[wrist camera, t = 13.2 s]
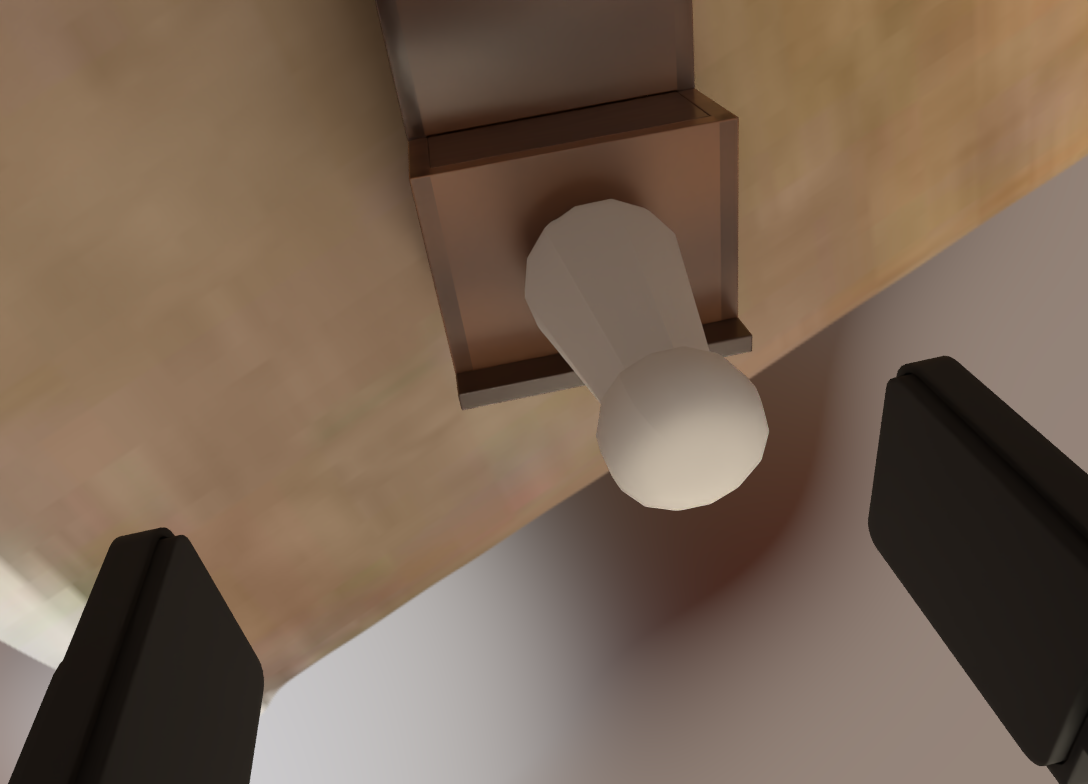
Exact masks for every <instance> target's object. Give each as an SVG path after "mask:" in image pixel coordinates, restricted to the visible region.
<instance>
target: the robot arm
mask: <svg viewBox="0 0 1088 784" xmlns="http://www.w3.org/2000/svg"><path fill="white" fill-rule="evenodd" d="M868 527H869V532H870V535H871V538H872V541H873V543H874V545H875V546H876V548H877V549H878V551H879V552H880V553H881V555H882V556H883V558H884V559H885V560H886V562H887V563H888V565H889V566H890V567H891V569H892V570H893V572H894V573H895V574H896V576H897V577H898V579H899V580H900V581H901V583H902V584H903V585H904V587H905V588H906V590H907V591H908V593H909V594H910V595H911V597H912V598H913V599H914V601H915V602H916V604H917V605H918V606H919V608H920V609H921V611H922V612H923V613H924V615H925V616H926V617H927V619H928V620H929V622H930V623H931V624H932V626H933V627H934V629H935V630H936V631H937V633H938V634H939V636H940V637H941V638H942V640H943V641H944V643H945V644H946V645H947V647H948V648H949V650H950V651H951V652H952V654H953V655H954V657H955V658H956V659H957V661H958V662H959V663H960V665H961V666H962V668H963V669H964V670H965V672H966V673H967V675H968V676H969V677H970V679H971V680H972V682H973V683H974V684H975V686H976V687H977V689H978V690H979V691H980V693H981V694H982V696H983V697H984V698H985V700H986V701H987V702H988V704H989V705H990V707H991V708H992V709H993V711H994V712H995V714H996V715H997V716H998V718H999V719H1000V721H1001V722H1002V723H1003V725H1004V726H1005V728H1006V729H1007V730H1008V732H1009V733H1010V734H1011V736H1012V737H1013V738H1014V740H1015V741H1016V743H1017V744H1018V746H1019V747H1020V748H1021V750H1022V751H1023V752H1024V754H1025V755H1026V756H1027V757H1028V758H1029V759H1030V760H1031V761H1032V762H1033V763H1035V764H1036V765H1039V766H1047V767H1048V769H1049V770H1050V772H1051V773H1052V774H1053V776H1054V777H1055V778H1056V780H1057V781H1058V782H1059V784H1088V474H1087V473H1085V472H1084V471H1083V470H1082V469H1081V468H1080V467H1079V466H1077V465H1076V464H1075V463H1074V462H1073V461H1072V460H1071V459H1069V458H1068V457H1067V456H1066V455H1065V454H1064V453H1062V452H1061V451H1060V450H1059V449H1058V448H1057V447H1056V446H1054V445H1053V444H1052V443H1051V442H1050V441H1049V440H1047V439H1046V438H1045V437H1044V436H1043V435H1042V434H1041V433H1039V432H1038V431H1037V430H1036V429H1035V428H1034V427H1032V426H1031V425H1030V424H1029V423H1028V422H1027V421H1025V420H1024V419H1023V418H1022V417H1021V416H1020V415H1018V414H1017V413H1016V412H1015V411H1014V410H1013V409H1012V408H1010V407H1009V406H1008V405H1007V404H1006V403H1005V402H1004V401H1002V400H1001V399H1000V398H999V397H998V396H997V395H996V394H994V393H993V392H992V391H991V390H990V389H989V388H987V387H986V386H985V385H984V384H983V383H982V382H981V381H979V380H978V379H977V378H976V377H975V376H973V375H972V374H971V373H970V372H969V371H968V370H966V369H965V368H964V367H963V366H962V365H961V364H960V363H959V362H957V361H956V360H955V359H953V358H951V357H949V356H941V357H937V358H932V359H927V360H923V361H918V362H913V363H909V364H905V365H903V366H901V368H900V369H899V370H898V373H897V377H896V378H893V379H890V380H889V382H888V383H887V387H886V393H885V400H884V408H883V415H882V422H881V430H880V437H879V445H878V451H877V459H876V466H875V473H874V481H873V489H872V496H871V503H870V511H869V517H868ZM263 689H264V677H263V670H262V667H261V664H260V661H259V659H258V657H257V656H256V654H255V652H254V651H253V649H252V647H251V645H250V644H249V642H248V640H247V638H246V637H245V635H244V633H243V632H242V630H241V628H240V626H239V625H238V623H237V621H236V620H235V618H234V616H233V614H232V613H231V611H230V609H229V607H228V606H227V604H226V602H225V601H224V599H223V597H222V595H221V594H220V592H219V590H218V589H217V587H216V585H215V583H214V582H213V580H212V578H211V576H210V575H209V573H208V571H207V570H206V568H205V566H204V564H203V563H202V561H201V559H200V557H199V556H198V554H197V552H196V551H195V549H194V547H193V545H192V544H191V542H190V541H189V539H188V538H187V537H186V536H184V535H178V536H174V534H173V533H172V532H171V531H170V530H169V529H167V528H157V529H152V530H148V531H143V532H139V533H134V534H129V535H125V536H120V537H118V538H116V539H115V540H114V541H113V542H112V544H111V545H110V547H109V550H108V552H107V555H106V557H105V560H104V562H103V564H102V567H101V569H100V572H99V574H98V577H97V579H96V582H95V584H94V586H93V589H92V591H91V594H90V596H89V599H88V601H87V603H86V606H85V608H84V611H83V613H82V616H81V618H80V621H79V623H78V625H77V628H76V630H75V633H74V635H73V638H72V640H71V642H70V645H69V647H68V650H67V652H66V655H65V657H64V660H63V661H62V662H61V663H60V664H59V666H58V668H57V670H56V671H55V673H54V675H53V677H52V680H51V682H50V684H49V687H48V689H47V691H46V694H45V696H44V699H43V701H42V703H41V706H40V708H39V711H38V713H37V715H36V718H35V720H34V723H33V725H32V728H31V730H30V732H29V735H28V737H27V739H26V742H25V744H24V747H23V749H22V752H21V754H20V757H19V759H18V761H17V764H16V766H15V769H14V771H13V773H12V776H11V778H10V780H9V783H8V784H249V782H250V775H251V769H252V763H253V756H254V748H255V743H256V736H257V730H258V723H259V716H260V710H261V703H262V697H263Z"/></svg>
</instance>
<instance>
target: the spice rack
mask: <svg viewBox="0 0 1088 784" xmlns="http://www.w3.org/2000/svg"><path fill="white" fill-rule="evenodd" d="M375 3H376V7H377V12H378V16H379V20H380V24H381V29H382V33H383V37H384V42H385V46H386V50H387V54H388V59H389V63H390V67H391V72H392V76H393V80H394V84H395V89H396V93H397V97H398V102H399V106H400V110H401V114H402V119H403V123H404V127H405V132H406V136H407V140H408V160H409V181H410V185H411V189H412V193H413V198H414V202H415V206H416V210H417V214H418V219H419V223H420V227H421V231H422V235H423V239H424V244H425V248H426V252H427V256H428V260H429V265H430V269H431V273H432V277H433V281H434V286H435V290H436V294H437V298H438V302H439V306H440V311H441V315H442V319H443V323H444V327H445V332H446V336H447V340H448V344H449V348H450V353H451V357H452V361H453V365H454V369H455V373H456V381H457V390H458V397H459V401H460V405H461V409H462V410H466V409H471V408H476V407H481V406H486V405H491V404H496V403H501V402H506V401H511V400H515V399H520V398H525V397H530V396H535V395H540V394H545V393H550V392H555V391H560V390H565V389H570V388H574V387H579V386H584V385H585V384H584V383H583V381H582V380H581V379H580V378H579V377H578V375H577V374H576V373H575V372H574V370H573V369H572V368H571V367H570V365H569V364H568V363H567V362H566V361H565V359H564V358H563V357H562V356H561V354H560V353H559V352H558V351H557V349H556V348H555V347H554V346H553V345H552V343H551V342H550V341H549V340H548V338H547V337H546V336H545V335H544V334H543V332H542V331H541V330H540V329H539V327H538V325H537V323H536V321H535V319H534V317H533V315H532V312H531V310H530V308H529V306H528V304H527V302H526V299H525V281H526V266H527V258H528V256H529V254H530V252H531V251H532V249H533V247H534V245H535V244H536V242H537V240H538V239H539V237H540V235H541V233H542V232H543V230H544V228H545V227H546V226H547V225H548V224H549V223H550V222H551V221H553V220H556V219H558V218H559V217H560V216H562V215H563V214H565V213H566V212H568V211H569V210H570V209H572V208H573V207H575V206H579V205H584V204H588V203H593V202H598V201H603V200H607V199H614V200H618V201H621V202H625V203H628V204H632V205H635V206H639V207H643V208H645V209H647V210H649V211H650V212H651V213H652V214H653V215H655V216H656V217H657V218H658V219H659V220H660V221H661V222H662V223H664V224H665V225H666V226H667V227H668V228H669V229H670V230H671V231H672V232H674V233H675V235H676V239H677V242H678V246H679V249H680V252H681V256H682V259H683V262H684V266H685V269H686V273H687V276H688V279H689V283H690V286H691V290H692V293H693V296H694V300H695V303H696V307H697V310H698V313H699V317H700V320H701V323H702V327H703V330H704V334H705V337H706V340H707V344H708V347H709V351H710V352H713V353H716V354H719V355H721V356H723V357H727V356H732V355H737V354H741V353H746V352H751V351H752V334H751V333H750V332H749V331H748V329H747V328H746V327H745V326H744V324H743V323H742V322H741V321H740V319H739V318H738V129H739V118H738V117H737V116H735V115H734V114H732V113H731V112H729V111H728V110H726V109H725V108H723V107H722V106H720V105H719V104H717V103H716V102H714V101H713V100H711V99H710V98H708V97H707V96H705V95H704V94H702V93H701V92H699V91H698V90H696V89H695V85H694V48H693V11H692V0H375ZM650 95H652V96H650ZM644 96H649V97H644ZM639 97H644V98H639ZM633 98H638V99H633ZM628 99H633V100H628ZM622 100H627V101H622ZM617 101H622V102H617ZM611 102H616V103H611ZM606 103H611V104H606ZM600 104H605V105H600ZM595 105H600V106H595ZM590 106H595V107H590ZM584 107H589V108H584ZM579 108H584V109H579ZM573 109H578V110H573ZM568 110H573V111H568ZM562 111H567V112H562ZM557 112H562V113H557ZM551 113H556V114H551ZM546 114H551V115H546ZM540 115H546V116H540ZM535 116H540V117H535ZM530 117H535V118H530ZM524 118H529V119H524ZM519 119H524V120H519ZM513 120H518V121H513ZM508 121H513V122H508ZM502 122H507V123H502ZM497 123H502V124H497ZM491 124H496V125H491ZM486 125H491V126H486ZM481 126H486V127H481ZM475 127H480V128H475ZM470 128H475V129H470ZM464 129H469V130H464ZM459 130H464V131H459ZM453 131H458V132H453ZM448 132H453V133H448ZM442 133H447V134H442ZM437 134H442V135H437ZM431 135H437V136H431ZM429 136H431V137H429Z"/></svg>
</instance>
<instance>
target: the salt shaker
mask: <svg viewBox="0 0 1088 784" xmlns="http://www.w3.org/2000/svg"><path fill="white" fill-rule="evenodd" d="M525 299H526V302H527V304H528V306H529V308H530V310H531V312H532V315H533V317H534V319H535V321H536V323H537V325H538V327H539V329H540V330H541V331H542V332H543V334H544V335H545V336H546V337H547V338H548V340H549V341H550V342H551V343H552V345H553V346H554V347H555V348H556V349H557V351H558V352H559V353H560V354H561V356H562V357H563V358H564V359H565V361H566V362H567V363H568V364H569V365H570V367H571V368H572V369H573V370H574V372H575V373H576V374H577V375H578V377H579V378H580V379H581V380H582V381H583V383H584V384H585V385H586V386H587V388H588V389H589V390H590V391H591V392H592V394H593V395H594V396H595V397H596V399H597V400H598V401H599V402H600V404H601V407H600V414H599V420H598V427H597V433H596V437H597V441H598V445H599V448H600V451H601V454H602V456H603V458H604V460H605V462H606V464H607V466H608V469H609V471H610V473H611V475H612V477H613V478H614V480H615V481H616V483H617V484H618V486H619V487H620V489H621V490H622V491H623V492H625V493H626V494H628V495H629V496H631V497H632V498H633V499H635V500H636V501H638V502H639V503H641V504H642V505H644V506H645V507H653V508H660V509H669V510H684V509H688V508H694V507H698V506H703V505H708V504H711V503H713V502H715V501H716V500H718V499H720V498H721V497H723V496H724V495H726V494H728V493H730V492H731V491H733V490H734V489H736V488H737V487H739V486H740V485H741V483H742V482H743V481H744V480H745V479H746V478H747V476H748V475H749V474H750V473H751V472H752V471H753V469H754V468H755V467H756V466H757V465H758V463H759V462H760V461H761V459H762V455H763V452H764V448H765V444H766V441H767V437H768V433H769V429H768V426H767V422H766V417H765V413H764V409H763V406H762V403H761V400H760V397H759V394H758V392H757V389H756V387H755V386H754V385H753V383H751V381H750V380H749V379H748V378H747V377H746V376H745V375H744V374H743V373H742V372H741V371H740V370H738V369H737V368H736V367H735V366H734V365H732V364H731V363H730V362H729V361H728V360H726V359H725V358H724V357H723V356H721V355H719V354H716V353H713V352H710V351H709V347H708V344H707V340H706V337H705V334H704V330H703V327H702V323H701V320H700V317H699V313H698V310H697V307H696V303H695V300H694V296H693V293H692V290H691V286H690V283H689V279H688V276H687V273H686V269H685V266H684V262H683V259H682V256H681V252H680V249H679V246H678V242H677V239H676V235H675V233H674V232H672V231H671V230H670V229H669V228H668V227H667V226H666V225H665V224H664V223H662V222H661V221H660V220H659V219H658V218H657V217H656V216H655V215H653V214H652V213H651V212H650V211H649V210H647V209H645V208H643V207H639V206H635V205H632V204H628V203H625V202H621V201H618V200H614V199H607V200H603V201H598V202H593V203H588V204H584V205H579V206H575V207H573V208H572V209H570V210H569V211H568V212H566V213H565V214H563V215H562V216H560V217H559V218H558V219H556V220H553V221H551V222H550V223H549V224H548V225H547V226H546V227H545V228H544V230H543V232H542V233H541V235H540V237H539V239H538V240H537V242H536V244H535V245H534V247H533V249H532V251H531V252H530V254H529V256H528V258H527V266H526V281H525Z"/></svg>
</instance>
